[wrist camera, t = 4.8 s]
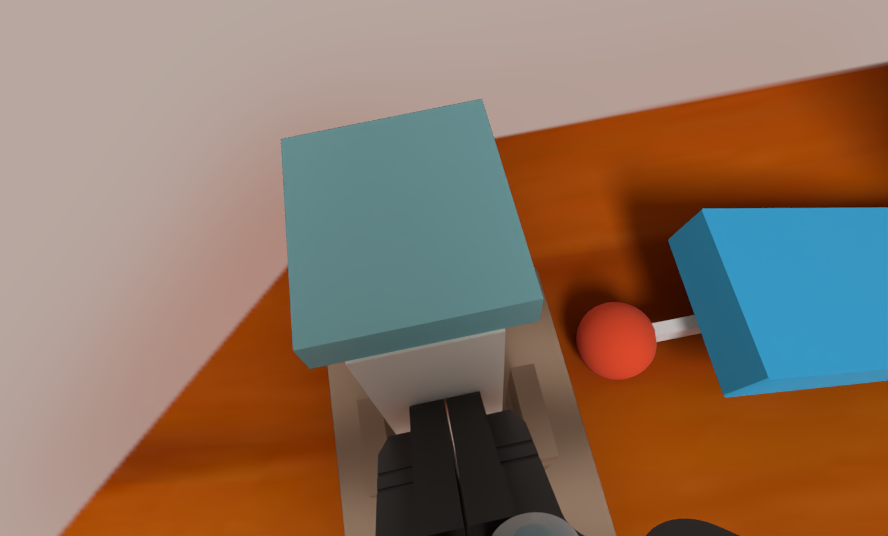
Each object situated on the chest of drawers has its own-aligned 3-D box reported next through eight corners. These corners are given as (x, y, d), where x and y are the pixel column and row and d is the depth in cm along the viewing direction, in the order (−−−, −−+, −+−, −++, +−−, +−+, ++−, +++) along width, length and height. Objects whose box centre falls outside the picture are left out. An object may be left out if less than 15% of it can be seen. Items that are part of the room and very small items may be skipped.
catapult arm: (514, 468, 20) (544, 302, 8) (418, 488, 20) (293, 354, 8) (489, 364, 22) (481, 98, 10) (401, 383, 22) (280, 138, 10)
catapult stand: (628, 615, 21) (689, 652, 15) (371, 671, 21) (321, 733, 15) (533, 285, 27) (547, 212, 21) (333, 327, 27) (286, 265, 21)
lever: (842, 274, 31) (548, 287, 27) (970, 206, 25) (617, 208, 21) (902, 395, 28) (583, 431, 24) (1063, 351, 22) (675, 389, 18)
